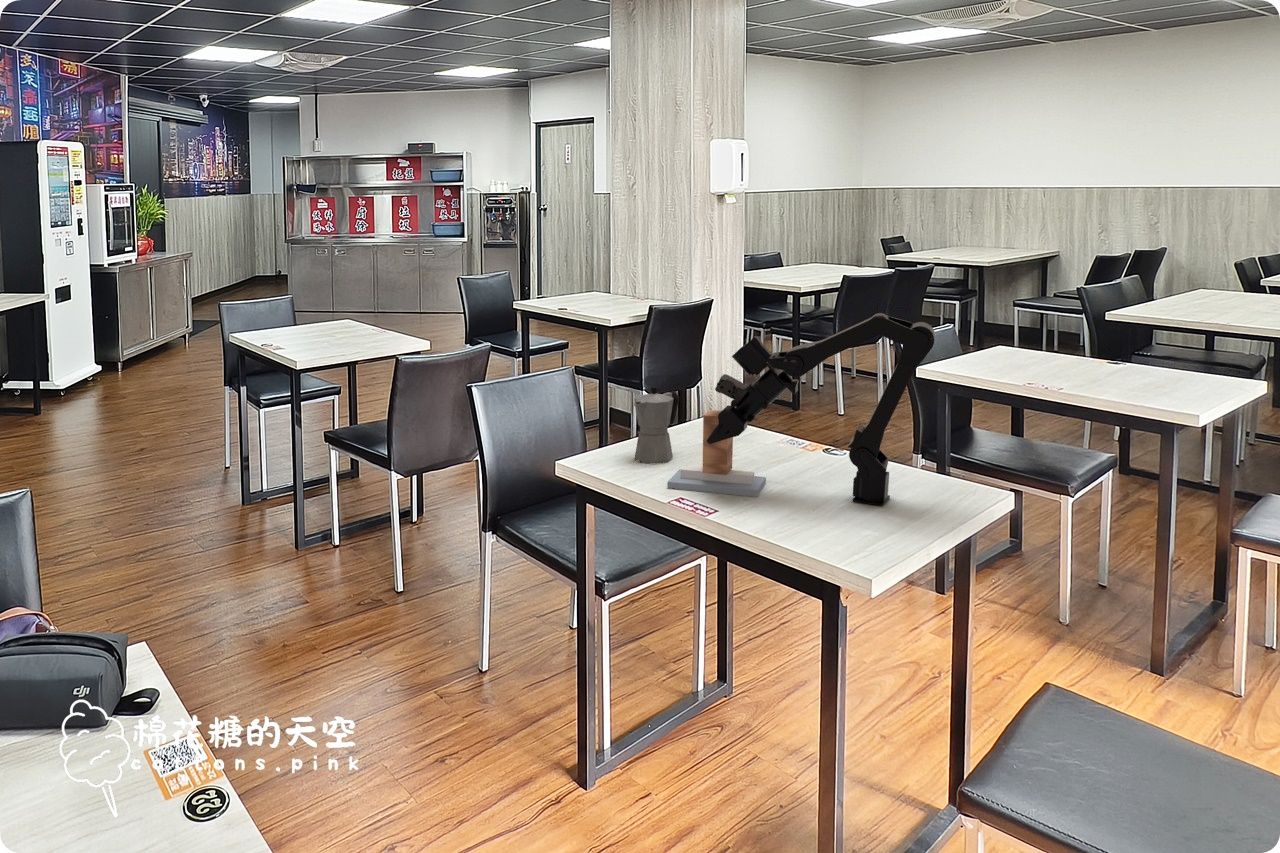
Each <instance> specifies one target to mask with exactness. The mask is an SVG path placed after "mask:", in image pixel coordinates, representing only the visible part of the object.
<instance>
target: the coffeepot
mask: <svg viewBox="0 0 1280 853" xmlns="http://www.w3.org/2000/svg"><path fill="white" fill-rule="evenodd" d="M650 390H651V391H650V392H651V393H647V394H642V395H641V394H640V395H638V396H636V397H635V398H634V399H633V400H634V402H633V406H634V407H635V413H636V418H637V425H638V426H639V433H638V435H637V441H636V448H635V449H636V450H635V454H634V458H636V459H637V460H639V461H641V462H640V463H643V462H645V463H644V464H650V463H659V464H665V463H668V461H669V462H671V460H672V459H673V458H674V457H673V455H674V454H673V450H672V444H671V443H672V442H671V436H670V433H669V431H668V428H669V426H670V425H673V424H674V423H675V419H676V414H677V410H678V407H679V403H680V396H679V395H678V393H676V391H674V390H673V391H669V392H664V393H663V394H661V393H658V386H656V385H653V386H650ZM637 460H636V461H637ZM639 461H638V462H639ZM663 462H664V463H663Z"/></svg>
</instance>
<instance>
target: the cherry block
mask: <svg viewBox="0 0 1280 853" xmlns="http://www.w3.org/2000/svg"><path fill="white" fill-rule="evenodd" d="M721 411H722V410H717V409H709V410H708V411H706V412H705V414H703V415H702V416H703V418H702V421H703V422H702V423H703V424H702V467H703V471H702V473H708V474H719V475H727V474H728V473H729V472H730V470H733V455H734V453H733V450H734V448H733V444H734V437H732V438H728V439H725V440H722V441H719V442H716V443H712V444H709V443H708V442H707V439H708V438H709V436H710V435H711V434H712V432H713V431H714V429H715V428H716V427H717V425H718V423H719V422H718V414H719V413H720V412H721Z"/></svg>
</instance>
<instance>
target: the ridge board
mask: <svg viewBox="0 0 1280 853" xmlns="http://www.w3.org/2000/svg"><path fill="white" fill-rule="evenodd" d="M702 471H703V466H689V465H683V466H682V468H680V469H678V470H677V471H676V472H675V473H674V475H672V476H671V478H669V479H668V480H667V483H666V484H667V489H670V488H675V489H674V490H680V489H683V491H692V492H693V491H694V492H702V493H715V494H722V495H734V496H745V497H754V498H757V497H758V496H759V495H760V493H761V491H762V490H763V489H764V488H765V485H766V484H767V476H758V475H755V471H745V470H737V469H736V470H734V469H731V470H730V472H729V473H728V474H727V475H719V474H708V473H702Z"/></svg>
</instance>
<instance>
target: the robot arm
mask: <svg viewBox="0 0 1280 853" xmlns="http://www.w3.org/2000/svg"><path fill="white" fill-rule="evenodd" d="M877 336H881V337H884V338H885V339H888V340H890V341H893V342H895V343H897V344H898V345H899V344H900V345H901V349H900V355H899V359H898V362H897V364H896V366H895V368H894V370H893V373H892V374H891V376H890V379H889V381H888V383H887V385H886V387H885V388H884V390H883V393H882V395H881V397H880V399H879V401H878V403H877V405H876V407H875V408H874V411H873V413H872V415H871V417H870V419H869V421H868V422H867V423H866V424H865V425H862V424H860V423H858V424H857V428H856V430H855V433H854V436H853V437H852V438H850V440H849V444H848V445H847V448H848V449H849V453H848V457H849V460H850V462H851V463H852V465H853V466H855V467H856V469H857V471H856V474H855V475H856V476H854V478H853V481H852V482H853V486H852V496H853V498H852V502H855V503H861V504H865V505H866V504H867V505H874V506H881V507H883V506H884V505H885V504H886V503H887V501H889V499H890V497H891V496H890V495H889V484H890V471H887V468H888V464H889V457H888V456H887V455H886V454H885V453H884V452H883V451H882V450H881V446H882V442H883V438H884V436H885V435H884V434H885V431H886V429H887V427H888V424H889V423H890V421H891V418H892V416H893V415H894V413H895V410H896V408H897V406H898V404H899V403H900V401H901V398H902V396H903V394H904V393H905V390H906V388H907V386H908V384H909V382H910V381H911V378H912V376H913V374H914V372H915V371H916V369H917V368H918V367H919V366H920V364H922V362H923V361H924V360H925V358H927V356H928V354H929V353H930V352H931V350H932V348H933V346H934V344H935V339H936V332H935V330H934V327H932V325H930V324H929V323H927V322H924V321H918V322H915V323H914V322H911V321H907V320H905V319H901V318H896V317H893V316H890V315H887V314H885V313H883V312H879V313H875V314H874V315H872V316H871V317H869V318H867V319H865V320H863V321H861V322H859V323H856V324H854V325H852V326H850V327H848V328H845V329H843V330H841V331H839V332H837V333H835V334H832V335H830V336H827V337H826V338H824V339H821V340H818V341H817V340H816V341H813V342H812V341H811V342H807V343H804V344H800V345H796V346H793V347H791V349H789V350H787V351H776V352H773V353H772V352H771V351H770V350H769V349H768V348H767V347H766V346H765V345H764V343H763V342H762V340H761V339H760V337H759V336H757V335H755V336H753V337H752V339H750V340H749V341H748V342H746V343H745V344H744V345H742V346H741V347H740V348H739V349H738V350H737V351H736V352H735V353H734V354H733V355H732V356H731V358H732V359H733V360H735V362H736V363H737V364H738V365H739V366H740V367H741V368H742V370H744V372H745V373H746V374H747V375H748V376H750V375H752V376H756V377H757V376H758V375H760V373H761V372H763V371H764V370H765V369H766V368H768V369H767V370H766V371H765V372H763V374H762V375H761V376H760V377H758V378H757V379H756V380H755V381H754V382H751V383H749V385H746V384H745V383H744V382H742V381H740V380H738V379H737V378H734V377H732V376H730V375H728V374H725V373H723V374H722V375H721V376H720V378H719V380H718V382H717V384H716V386H715V389H714V391H716V393H719V394H722V395H725V396H726V397H728V398H729V399H730V398H731V399H732V400H731V401H730V405H726V406H725V407H724V408H723V409H722V410H720V411H721V412H720V413H719V414H718V422H719V423H718V425H717V427H716V428H715V429H714V431H713V432H712V434H711V435H710V436H709V438H708V439H707V442H708V443H709V444H712V443H716V442H719V441H722V440H725V439H728V438H732V437H733V438H736V437H739V436H740V435H741V434H742V433H744V432H745V430H747V428H748V423H750V422H753V420H755V418H756V417H757V416H759V414H761V413H762V412H763V411H764V410H766V409H767V408H768V407H769V406H770V404H772V403H773V402H774V401H775V400H777V398H779V397H780V396H781V395H782V394H784V392H786V390H788V391H789V392H790V393H791V394H792V395H796V393H797V392H798V391H799V388H798V387H799V381H800V380H799V379H797V378H799V377H803V376H805V374H808V373H809V372H810V371H812V370H813V369H814V368H816V367H817V366H819V365H820V364H821V363H822V362H824V361H826V360H828V358H830V357H832V356H833V357H834V356H835V355H837V354H840V353H841V352H844V351H846V350H848V349H850V348H852V347H855V346H857V345H859V344H861V343H864V342H866V341H868V340H870V339H873V338H874V337H877ZM793 378H796V379H793Z"/></svg>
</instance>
